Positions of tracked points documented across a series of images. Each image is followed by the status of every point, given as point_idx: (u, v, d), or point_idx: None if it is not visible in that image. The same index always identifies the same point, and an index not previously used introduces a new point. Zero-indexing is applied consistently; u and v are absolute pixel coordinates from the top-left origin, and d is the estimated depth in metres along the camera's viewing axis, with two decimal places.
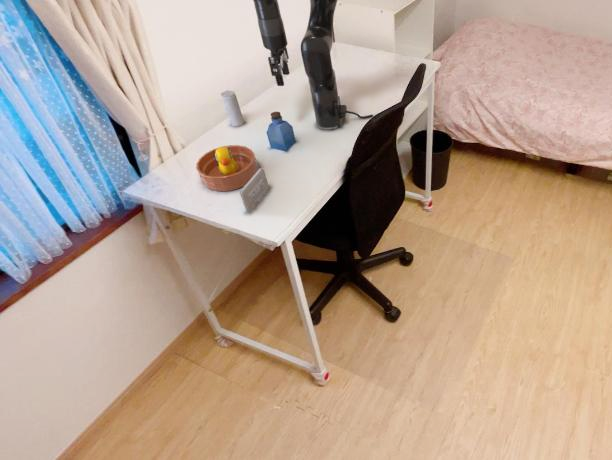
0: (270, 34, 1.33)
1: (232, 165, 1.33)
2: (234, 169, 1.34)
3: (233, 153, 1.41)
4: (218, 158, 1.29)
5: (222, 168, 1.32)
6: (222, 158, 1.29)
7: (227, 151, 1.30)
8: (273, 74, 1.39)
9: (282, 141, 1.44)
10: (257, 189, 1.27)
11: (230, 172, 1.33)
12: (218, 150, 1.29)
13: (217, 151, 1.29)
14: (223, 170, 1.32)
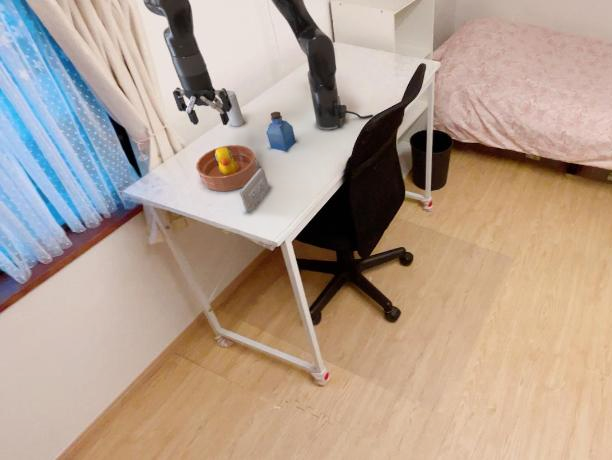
0: None
1: (232, 165, 1.33)
2: (234, 169, 1.34)
3: (233, 153, 1.41)
4: (218, 158, 1.29)
5: (222, 168, 1.32)
6: (222, 158, 1.29)
7: (227, 151, 1.30)
8: None
9: (282, 141, 1.44)
10: (257, 189, 1.27)
11: (230, 172, 1.33)
12: (218, 150, 1.29)
13: (217, 151, 1.29)
14: (223, 170, 1.32)
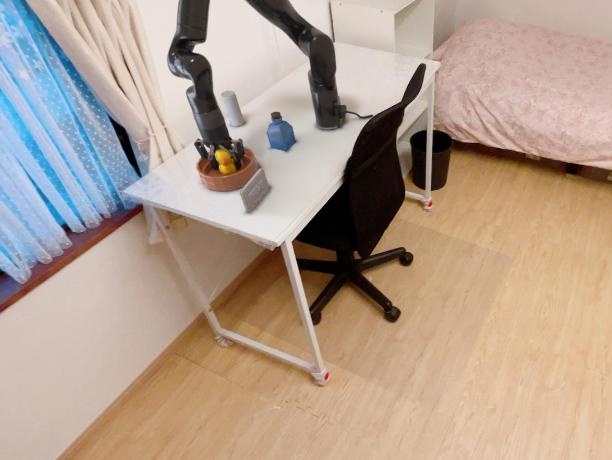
0: None
1: (232, 165, 1.33)
2: (234, 169, 1.34)
3: None
4: (218, 158, 1.29)
5: (222, 168, 1.32)
6: (222, 158, 1.29)
7: None
8: None
9: (282, 141, 1.44)
10: (257, 189, 1.27)
11: (230, 172, 1.33)
12: (218, 150, 1.29)
13: (217, 151, 1.29)
14: (223, 170, 1.32)
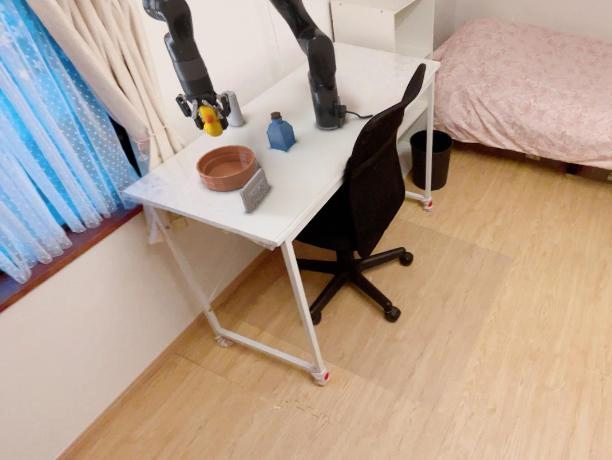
0: None
1: (218, 123, 1.23)
2: (220, 128, 1.23)
3: (233, 153, 1.41)
4: (202, 115, 1.19)
5: (207, 127, 1.22)
6: (206, 115, 1.19)
7: None
8: None
9: (282, 141, 1.44)
10: (257, 189, 1.27)
11: (216, 131, 1.23)
12: (202, 106, 1.19)
13: (201, 107, 1.19)
14: (208, 129, 1.22)
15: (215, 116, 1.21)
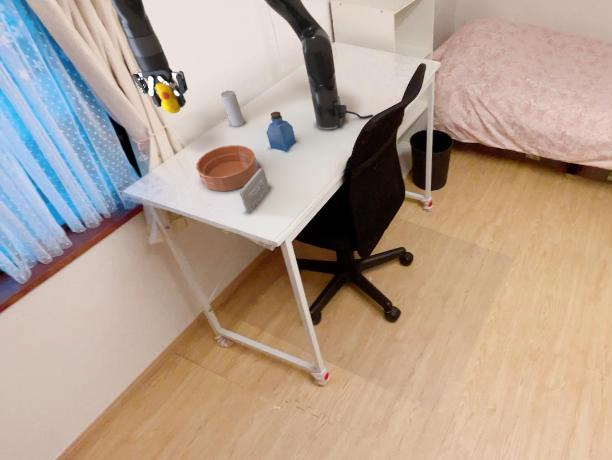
0: None
1: (174, 100, 1.27)
2: (177, 105, 1.28)
3: (233, 153, 1.41)
4: (158, 91, 1.24)
5: (163, 103, 1.26)
6: (162, 91, 1.23)
7: None
8: None
9: (282, 141, 1.44)
10: (257, 189, 1.27)
11: (172, 108, 1.27)
12: (158, 83, 1.24)
13: (157, 84, 1.24)
14: (164, 105, 1.26)
15: (171, 93, 1.25)
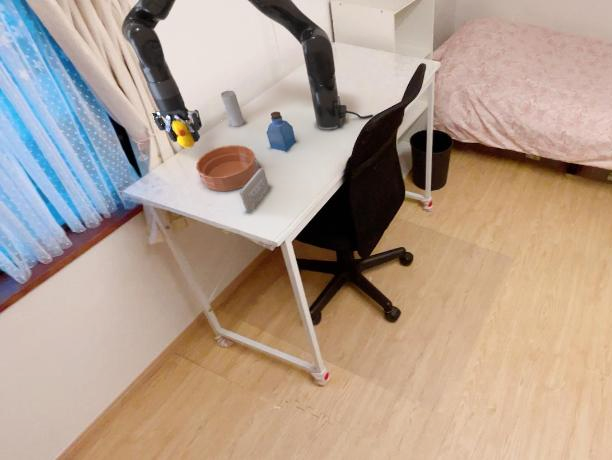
0: None
1: (189, 136, 1.36)
2: (191, 140, 1.37)
3: (233, 153, 1.41)
4: (174, 129, 1.32)
5: (179, 139, 1.35)
6: (178, 129, 1.32)
7: None
8: None
9: (282, 141, 1.44)
10: (257, 189, 1.27)
11: (187, 143, 1.36)
12: (174, 121, 1.32)
13: (173, 122, 1.32)
14: (180, 141, 1.35)
15: (187, 130, 1.34)
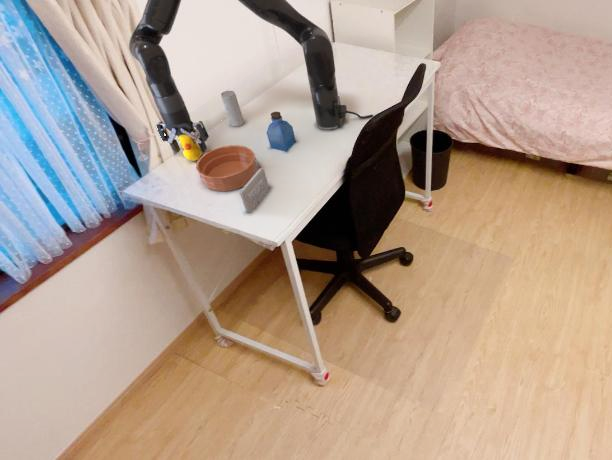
0: None
1: (195, 150, 1.40)
2: (197, 154, 1.40)
3: (233, 153, 1.41)
4: (181, 143, 1.36)
5: (185, 152, 1.39)
6: (185, 143, 1.36)
7: None
8: None
9: (282, 141, 1.44)
10: (257, 189, 1.27)
11: (193, 156, 1.40)
12: (181, 135, 1.36)
13: (180, 136, 1.36)
14: (186, 154, 1.39)
15: (193, 143, 1.38)
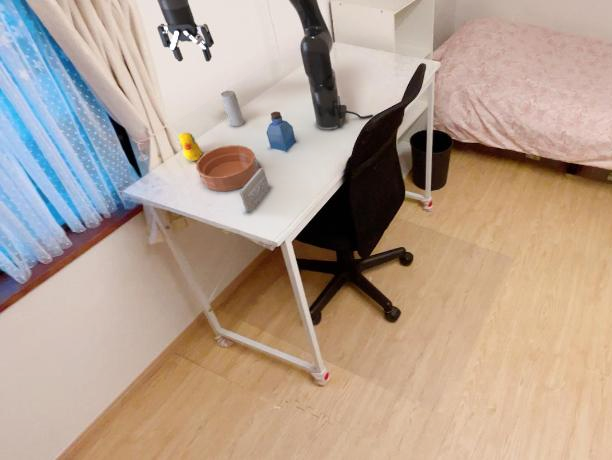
0: None
1: (195, 150, 1.40)
2: (197, 154, 1.40)
3: (233, 153, 1.41)
4: (181, 143, 1.36)
5: (185, 152, 1.39)
6: (185, 143, 1.36)
7: (190, 136, 1.37)
8: None
9: (282, 141, 1.44)
10: (257, 189, 1.27)
11: (193, 156, 1.40)
12: (181, 135, 1.36)
13: (180, 136, 1.36)
14: (186, 154, 1.39)
15: (193, 143, 1.38)
